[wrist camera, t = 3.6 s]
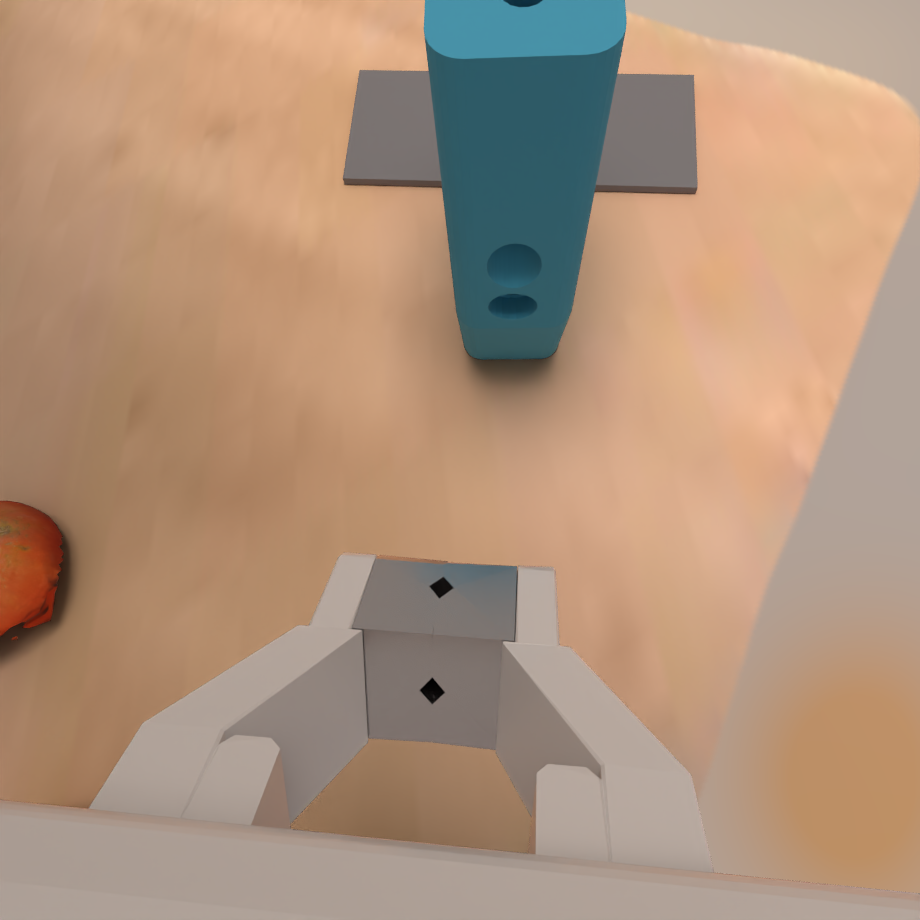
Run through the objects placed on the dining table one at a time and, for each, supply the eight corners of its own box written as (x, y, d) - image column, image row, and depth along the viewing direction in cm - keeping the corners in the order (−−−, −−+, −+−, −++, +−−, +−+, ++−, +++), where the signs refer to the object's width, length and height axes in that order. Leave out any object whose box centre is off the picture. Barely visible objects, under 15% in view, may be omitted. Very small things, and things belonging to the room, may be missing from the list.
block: (559, 389, 36) (629, 53, 17) (462, 390, 36) (422, 60, 17) (553, 195, 39) (604, -261, 20) (465, 197, 40) (435, -251, 21)
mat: (344, 184, 40) (343, 178, 40) (361, 77, 43) (359, 70, 42) (695, 193, 39) (697, 187, 38) (691, 82, 41) (693, 74, 41)
